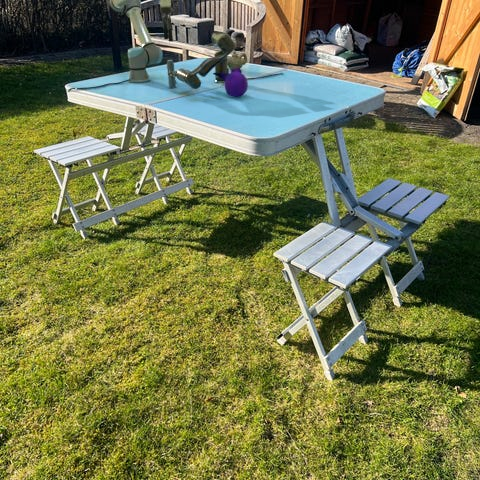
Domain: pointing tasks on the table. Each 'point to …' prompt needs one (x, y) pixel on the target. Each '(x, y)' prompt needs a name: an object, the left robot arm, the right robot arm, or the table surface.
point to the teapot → (236, 60)
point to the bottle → (171, 68)
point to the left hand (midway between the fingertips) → (168, 40)
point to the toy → (234, 82)
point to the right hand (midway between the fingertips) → (175, 71)
